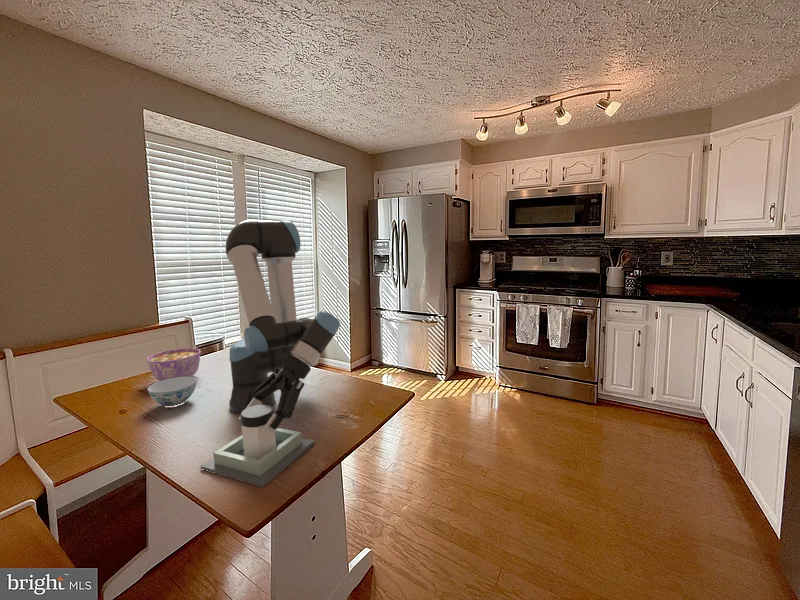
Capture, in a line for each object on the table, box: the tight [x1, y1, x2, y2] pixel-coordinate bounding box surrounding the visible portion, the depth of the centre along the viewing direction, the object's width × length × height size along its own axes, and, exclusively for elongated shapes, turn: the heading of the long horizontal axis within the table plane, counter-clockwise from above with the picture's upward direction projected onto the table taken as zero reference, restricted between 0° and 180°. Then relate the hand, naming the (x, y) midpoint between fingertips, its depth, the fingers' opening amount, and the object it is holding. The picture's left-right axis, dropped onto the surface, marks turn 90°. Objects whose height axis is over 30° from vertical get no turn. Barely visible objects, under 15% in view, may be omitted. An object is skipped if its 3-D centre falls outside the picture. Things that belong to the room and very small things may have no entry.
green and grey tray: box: [200, 427, 315, 488], centre depth 98 cm, size 20×20×4 cm
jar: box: [240, 404, 277, 460], centre depth 97 cm, size 9×8×12 cm
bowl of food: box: [146, 347, 202, 382], centre depth 158 cm, size 20×20×12 cm
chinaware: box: [147, 376, 197, 406], centre depth 134 cm, size 15×15×8 cm
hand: (251, 429), depth 96 cm, fingers open, 13 cm apart
